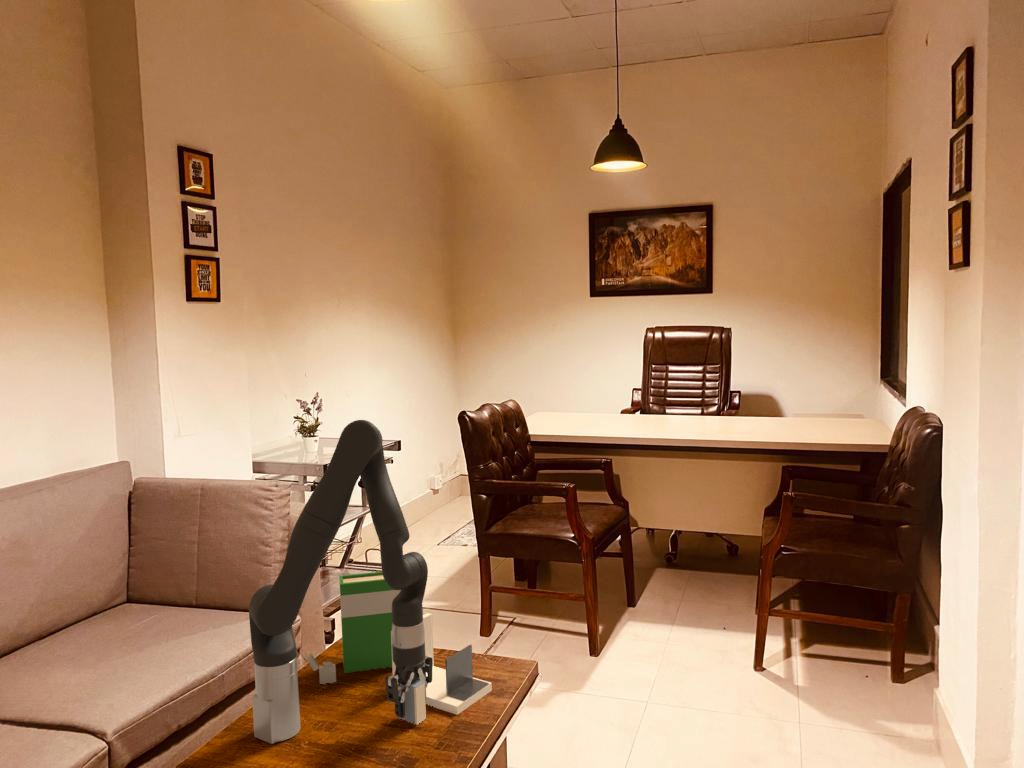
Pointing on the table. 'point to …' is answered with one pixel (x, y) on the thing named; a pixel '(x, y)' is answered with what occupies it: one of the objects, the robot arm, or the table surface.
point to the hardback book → (366, 621)
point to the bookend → (461, 675)
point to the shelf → (442, 679)
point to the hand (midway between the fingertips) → (411, 709)
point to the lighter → (323, 670)
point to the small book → (415, 703)
